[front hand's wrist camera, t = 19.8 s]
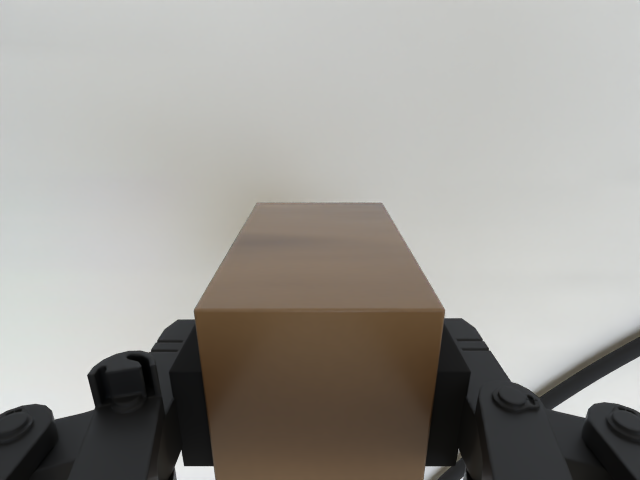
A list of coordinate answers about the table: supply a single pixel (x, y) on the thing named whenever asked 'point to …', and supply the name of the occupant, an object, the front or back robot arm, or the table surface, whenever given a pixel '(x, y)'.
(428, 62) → the table surface
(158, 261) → the table surface
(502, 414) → the front robot arm
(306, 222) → the block
